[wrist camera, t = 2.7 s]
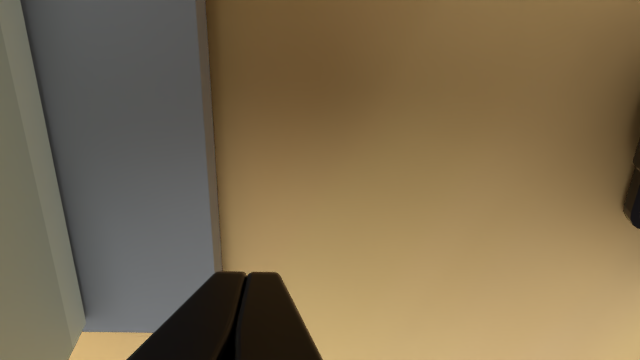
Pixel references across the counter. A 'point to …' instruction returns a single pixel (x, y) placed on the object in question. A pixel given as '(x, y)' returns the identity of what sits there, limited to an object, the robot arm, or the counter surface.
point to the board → (130, 151)
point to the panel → (31, 215)
